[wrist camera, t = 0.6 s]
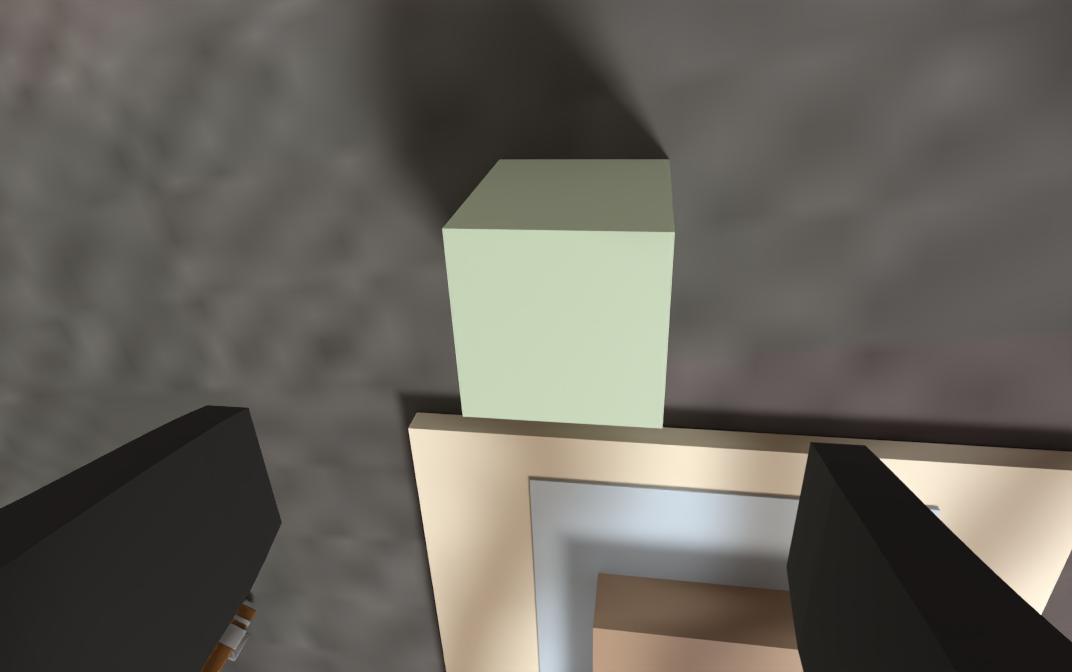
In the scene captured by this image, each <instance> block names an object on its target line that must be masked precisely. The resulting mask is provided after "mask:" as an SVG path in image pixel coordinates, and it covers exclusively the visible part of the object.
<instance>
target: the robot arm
mask: <svg viewBox="0 0 1072 672" xmlns="http://www.w3.org/2000/svg"><path fill="white" fill-rule="evenodd" d="M281 523H282V522H281V519H280V515H279V512H278V508H277V505H276V501H275V498H274V494H273V491H272V488H271V484H270V481H269V477H268V474H267V470H266V467H265V463H264V460H263V456H262V453H261V450H260V446H259V443H258V439H257V436H256V432H255V429H254V425H253V422H252V418H251V415H250V412H249V408H242V407H225V406H209V405H207V406H205V407H202V408H200V409H198V410H195V411H193V412H190V413H188V414H186V415H184V416H181V417H179V418H177V419H175V420H173V421H171V422H169V423H167V424H165V425H163V426H161V427H159V428H157V429H155V430H153V431H150V432H148V433H147V434H145V435H143V436H141V437H139V438H137V439H135V440H133V441H131V442H129V443H127V444H125V445H123V446H121V447H119V448H117V449H115V450H114V451H112V452H110V453H108V454H106V455H104V456H102V457H100V458H98V459H96V460H94V461H92V462H90V463H89V464H87V465H85V466H83V467H81V468H79V469H77V470H75V471H73V472H71V473H69V474H67V475H65V476H64V477H62V478H60V479H58V480H56V481H54V482H52V483H50V484H48V485H46V486H44V487H42V488H40V489H39V490H37V491H35V492H33V493H31V494H29V495H27V496H25V497H23V498H21V499H19V500H17V501H15V502H13V503H11V504H9V505H7V506H5V507H3V508H1V509H0V672H200V670H201V669H202V667H203V666H204V664H205V662H206V661H207V659H208V658H209V656H210V655H211V653H212V651H213V650H214V648H215V647H216V645H217V644H218V642H219V640H220V639H221V637H222V636H223V634H224V632H225V631H226V629H227V628H228V626H229V624H230V623H231V621H232V620H233V618H234V616H235V615H236V613H237V612H238V610H239V608H240V607H241V605H242V603H243V602H244V600H245V598H246V597H247V595H248V593H249V592H250V590H251V588H252V586H253V584H254V582H255V580H256V578H257V576H258V574H259V571H260V569H261V567H262V565H263V563H264V561H265V559H266V557H267V555H268V552H269V550H270V548H271V545H272V543H273V541H274V539H275V536H276V534H277V532H278V530H279V527H280V525H281ZM786 568H787V576H788V584H789V591H790V599H791V607H792V614H793V621H794V628H795V634H796V641H797V648H798V652H799V657H800V661H801V665H802V669H803V672H1072V642H1071V641H1070V640H1069V639H1068V638H1066V637H1065V636H1064V635H1063V634H1062V633H1061V632H1059V631H1058V630H1057V629H1056V628H1055V627H1054V626H1053V625H1052V624H1050V623H1049V622H1048V621H1047V620H1046V619H1045V618H1044V617H1043V616H1042V615H1040V614H1039V613H1038V612H1037V611H1036V610H1035V609H1034V608H1033V607H1032V606H1031V605H1029V604H1028V603H1027V602H1026V601H1025V600H1024V599H1023V598H1022V597H1021V596H1020V595H1018V594H1017V593H1016V592H1015V591H1014V590H1013V589H1012V588H1011V587H1010V586H1009V585H1008V584H1007V583H1006V582H1004V581H1003V580H1002V579H1001V578H1000V577H999V576H998V575H997V574H996V573H995V572H994V571H993V570H992V569H991V568H990V567H989V566H988V565H986V564H985V563H984V562H983V561H982V560H981V559H980V558H979V557H978V556H977V555H976V554H975V553H974V552H973V551H972V550H971V549H970V548H969V547H968V546H967V545H966V544H965V543H964V542H963V541H962V540H960V539H959V538H958V537H957V536H956V535H955V534H954V533H953V532H952V531H951V530H950V529H949V528H948V527H947V526H946V525H945V524H944V523H943V522H942V521H941V520H940V519H939V518H938V517H937V516H936V515H935V514H934V513H933V512H932V511H931V510H930V509H929V508H928V507H927V506H926V505H925V504H924V503H923V502H922V501H921V500H920V499H919V498H918V497H917V496H916V495H915V494H914V493H913V492H912V491H911V490H910V489H909V488H908V487H907V486H906V485H905V484H904V483H903V482H902V481H901V480H900V479H899V478H898V477H897V476H896V475H895V474H894V473H893V472H892V471H891V470H890V469H889V468H888V467H887V466H886V465H885V464H884V463H883V462H882V461H881V460H880V459H879V458H878V457H877V456H876V455H875V454H874V453H873V452H872V451H871V450H870V449H869V448H868V447H867V446H866V445H852V444H836V443H819V442H810V447H809V452H808V457H807V462H806V468H805V473H804V478H803V483H802V488H801V494H800V499H799V504H798V509H797V514H796V520H795V525H794V530H793V535H792V540H791V546H790V551H789V556H788V561H787V566H786Z"/></svg>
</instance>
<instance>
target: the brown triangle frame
mask: <svg viewBox="0 0 1072 672" xmlns="http://www.w3.org/2000/svg"><path fill="white" fill-rule="evenodd" d="M255 613H256V611H255V610H254V609H252V608H250V607H248V606H246V605H244V604H242V605H241V607H240V608H239V610H238V612H237V613H236V615H235V616H234V618H233V620H232V621H231V623H230V624H229V626H228V628H227V629H226V631H225V632H224V634H223V636H222V637H221V639H220V640H219V642H218V644H217V645H216V647H215V648H214V650H213V652H212V653H211V655H210V657H209V658H208V660H207V662H206V663H205V665H204V666H203V668H202V670H201V671H200V672H220V671H221V669H222V667H223V666H224V664H225V662H226V661H227V659H230V660H232V661H235V660H236V658H237V656H238V655H239V653H240V651H241V650H242V648H243V646H244V645H245V643H246V641H247V640H248V638H249V636H250V635H251V634H250V633H248V632H246V631H245V629H246V628H247V627H248V626H249V624H250V621H251V620H252V618H253V617H254V615H255Z"/></svg>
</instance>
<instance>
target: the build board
mask: <svg viewBox="0 0 1072 672" xmlns="http://www.w3.org/2000/svg"><path fill="white" fill-rule="evenodd" d="M408 430H409V437H410V443H411V450H412V456H413V462H414V469H415V475H416V481H417V488H418V494H419V501H420V507H421V513H422V520H423V526H424V532H425V539H426V545H427V552H428V558H429V564H430V571H431V577H432V583H433V590H434V596H435V603H436V609H437V615H438V622H439V628H440V634H441V641H442V647H443V654H444V660H445V666H446V672H803V669H802V665H801V661H800V657H799V652H798V648H797V641H796V634H795V628H794V621H793V614H792V607H791V599H790V591H789V584H788V576H787V568H786V566H787V561H788V556H789V551H790V546H791V540H792V535H793V530H794V525H795V520H796V514H797V509H798V504H799V499H800V494H801V488H802V483H803V478H804V473H805V468H806V462H807V457H808V452H809V447H810V442H819V443H836V444H852V445H866V446H867V447H868V448H869V449H870V450H871V451H872V452H873V453H874V454H875V455H876V456H877V457H878V458H879V459H880V460H881V461H882V462H883V463H884V464H885V465H886V466H887V467H888V468H889V469H890V470H891V471H892V472H893V473H894V474H895V475H896V476H897V477H898V478H899V479H900V480H901V481H902V482H903V483H904V484H905V485H906V486H907V487H908V488H909V489H910V490H911V491H912V492H913V493H914V494H915V495H916V496H917V497H918V498H919V499H920V500H921V501H922V502H923V503H924V504H925V505H926V506H927V507H928V508H929V509H930V510H931V511H932V512H933V513H934V514H935V515H936V516H937V517H938V518H939V519H940V520H941V521H942V522H943V523H944V524H945V525H946V526H947V527H948V528H949V529H950V530H951V531H952V532H953V533H954V534H955V535H956V536H957V537H958V538H959V539H960V540H962V541H963V542H964V543H965V544H966V545H967V546H968V547H969V548H970V549H971V550H972V551H973V552H974V553H975V554H976V555H977V556H978V557H979V558H980V559H981V560H982V561H983V562H984V563H985V564H986V565H988V566H989V567H990V568H991V569H992V570H993V571H994V572H995V573H996V574H997V575H998V576H999V577H1000V578H1001V579H1002V580H1003V581H1004V582H1006V583H1007V584H1008V585H1009V586H1010V587H1011V588H1012V589H1013V590H1014V591H1015V592H1016V593H1017V594H1018V595H1020V596H1021V597H1022V598H1023V599H1024V600H1025V601H1026V602H1027V603H1028V604H1029V605H1031V606H1032V607H1033V608H1034V609H1035V610H1036V611H1037V612H1038V613H1039V614H1040V615H1041V614H1042V612H1043V610H1044V608H1045V606H1046V603H1047V601H1048V599H1049V597H1050V595H1051V593H1052V590H1053V588H1054V586H1055V584H1056V582H1057V580H1058V578H1059V575H1060V573H1061V571H1062V569H1063V567H1064V565H1065V562H1066V560H1067V558H1068V556H1069V554H1070V552H1071V549H1072V452H1068V451H1051V450H1035V449H1018V448H1001V447H985V446H968V445H951V444H935V443H918V442H901V441H885V440H868V439H851V438H835V437H818V436H801V435H784V434H768V433H751V432H734V431H718V430H701V429H684V428H668V427H663V429H661V428H644V427H628V426H611V425H595V424H578V423H562V422H545V421H529V420H512V419H496V418H479V417H463V415H451V414H434V413H418V412H417V413H416V415H415V417H414V418H413V420H412V422H411V424H410V426H409V428H408Z"/></svg>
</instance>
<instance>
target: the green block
mask: <svg viewBox="0 0 1072 672" xmlns="http://www.w3.org/2000/svg"><path fill="white" fill-rule="evenodd" d="M442 231H443V240H444V250H445V259H446V268H447V277H448V286H449V295H450V305H451V314H452V323H453V332H454V341H455V350H456V360H457V369H458V378H459V387H460V396H461V405H462V415H463V417H479V418H496V419H512V420H529V421H545V422H562V423H578V424H595V425H611V426H628V427H644V428H661V429H663V413H664V397H665V381H666V365H667V349H668V333H669V317H670V300H671V284H672V268H673V252H674V236H675V229H674V215H673V201H672V187H671V173H670V159H499V161H498V162H497V163H496V164H495V165H494V167H493V168H492V169H491V170H490V171H489V173H488V174H487V175H486V176H485V178H484V179H483V180H482V181H481V182H480V184H479V185H478V186H477V187H476V188H475V190H474V191H473V192H472V193H471V194H470V196H469V197H468V198H467V199H466V200H465V202H464V203H463V204H462V205H461V206H460V208H459V209H458V210H457V211H456V212H455V214H454V215H453V216H452V217H451V219H450V220H449V221H448V222H447V223H446V225H445V226H444V227H443V228H442Z"/></svg>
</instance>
